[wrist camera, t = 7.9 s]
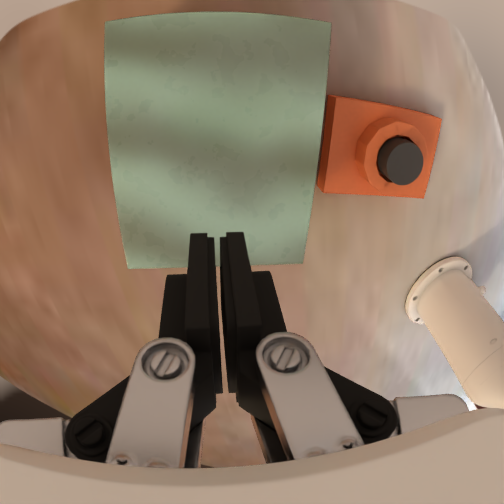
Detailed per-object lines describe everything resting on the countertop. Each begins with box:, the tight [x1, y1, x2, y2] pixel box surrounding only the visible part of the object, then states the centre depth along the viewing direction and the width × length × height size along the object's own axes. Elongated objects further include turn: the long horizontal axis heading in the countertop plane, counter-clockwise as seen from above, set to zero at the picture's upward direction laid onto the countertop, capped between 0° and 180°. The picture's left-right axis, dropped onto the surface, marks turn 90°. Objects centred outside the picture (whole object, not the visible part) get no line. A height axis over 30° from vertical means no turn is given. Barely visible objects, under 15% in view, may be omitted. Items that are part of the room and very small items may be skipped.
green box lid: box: [104, 12, 332, 269], centre depth 18 cm, size 16×13×1 cm
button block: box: [317, 95, 442, 198], centre depth 26 cm, size 12×9×4 cm
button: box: [377, 137, 424, 185], centre depth 24 cm, size 4×4×2 cm
